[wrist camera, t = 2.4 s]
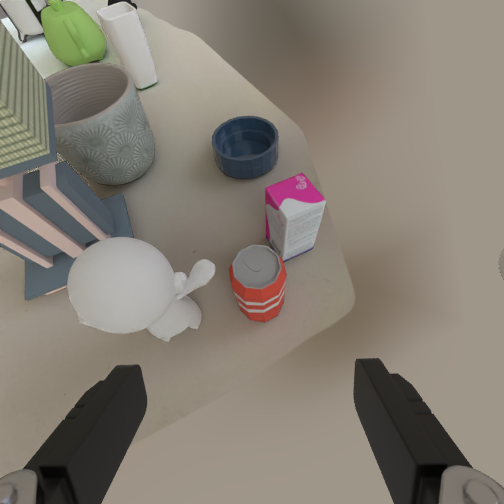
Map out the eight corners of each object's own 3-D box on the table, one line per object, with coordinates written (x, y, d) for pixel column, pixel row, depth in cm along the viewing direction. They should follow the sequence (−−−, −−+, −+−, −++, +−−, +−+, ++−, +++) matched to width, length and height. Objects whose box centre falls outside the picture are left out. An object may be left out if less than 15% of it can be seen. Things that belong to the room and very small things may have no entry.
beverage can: (259, 273, 40) (255, 230, 29) (291, 301, 37) (299, 264, 27) (231, 301, 38) (214, 266, 27) (262, 332, 35) (258, 306, 25)
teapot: (52, 50, 81) (16, -6, 70) (98, 35, 84) (71, -22, 73) (69, 81, 72) (30, 21, 60) (120, 61, 75) (92, 1, 63)
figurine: (221, 278, 40) (180, 187, 22) (241, 329, 36) (211, 267, 18) (121, 320, 38) (-11, 255, 20) (130, 378, 34) (-22, 362, 16)
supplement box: (314, 248, 41) (328, 201, 31) (281, 263, 40) (284, 220, 30) (296, 221, 44) (302, 170, 34) (264, 235, 43) (262, 187, 33)
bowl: (283, 141, 54) (284, 119, 49) (269, 185, 48) (269, 164, 44) (227, 135, 56) (223, 113, 51) (208, 176, 50) (202, 155, 46)
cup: (138, 95, 66) (105, 21, 53) (127, 83, 69) (93, 10, 56) (164, 83, 67) (138, 9, 54) (152, 72, 71) (124, 0, 58)
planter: (106, 213, 48) (41, 144, 34) (71, 166, 54) (6, 93, 41) (182, 166, 52) (151, 88, 39) (141, 128, 59) (103, 51, 46)
